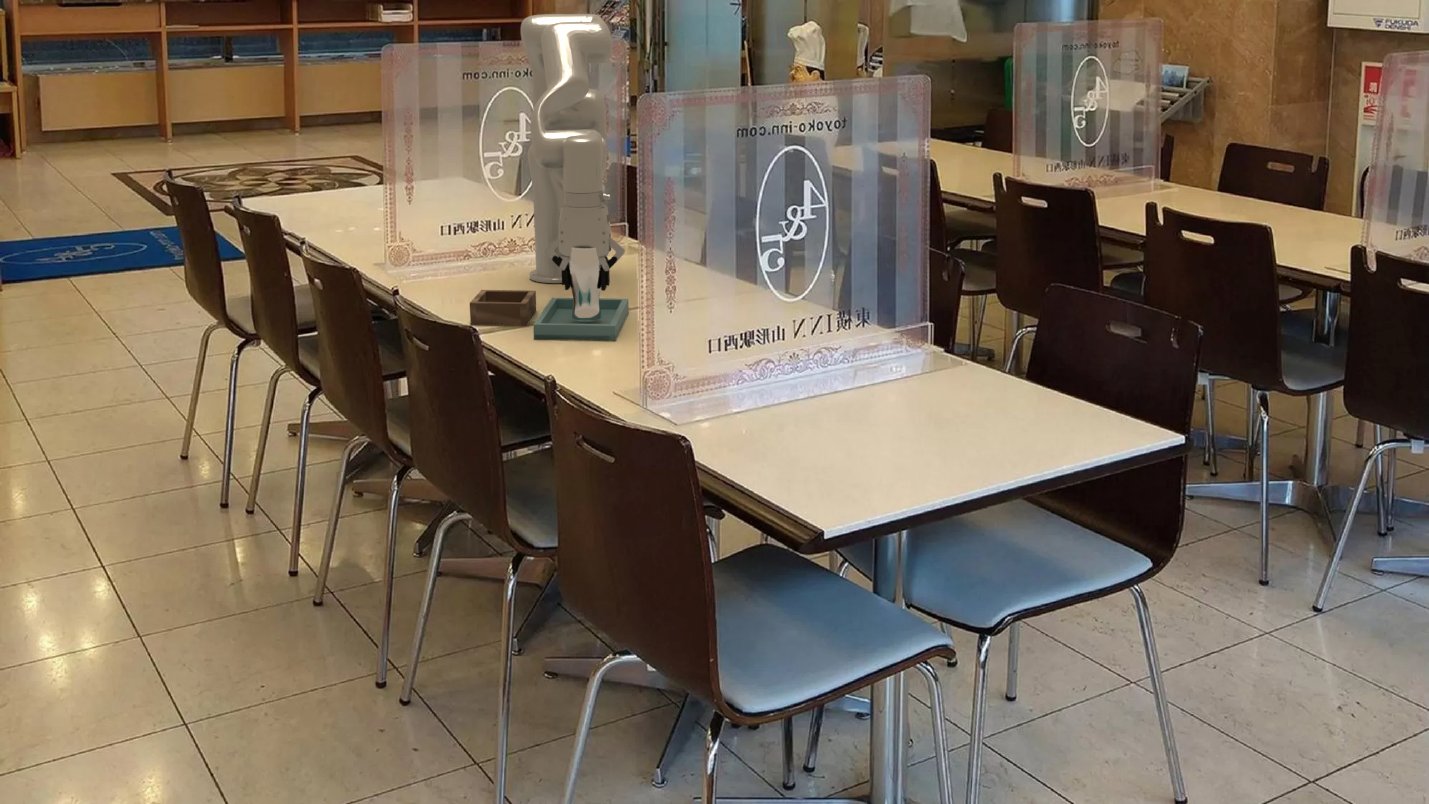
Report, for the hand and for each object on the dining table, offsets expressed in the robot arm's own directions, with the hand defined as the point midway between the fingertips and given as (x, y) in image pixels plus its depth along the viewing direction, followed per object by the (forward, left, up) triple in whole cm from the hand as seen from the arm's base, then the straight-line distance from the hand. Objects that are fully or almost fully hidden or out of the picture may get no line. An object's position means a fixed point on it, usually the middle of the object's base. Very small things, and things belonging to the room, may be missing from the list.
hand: (585, 288), depth 297 cm
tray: (-1, -1, -8) cm, 8 cm away
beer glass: (0, 0, -6) cm, 6 cm away
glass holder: (-6, -18, -8) cm, 20 cm away
